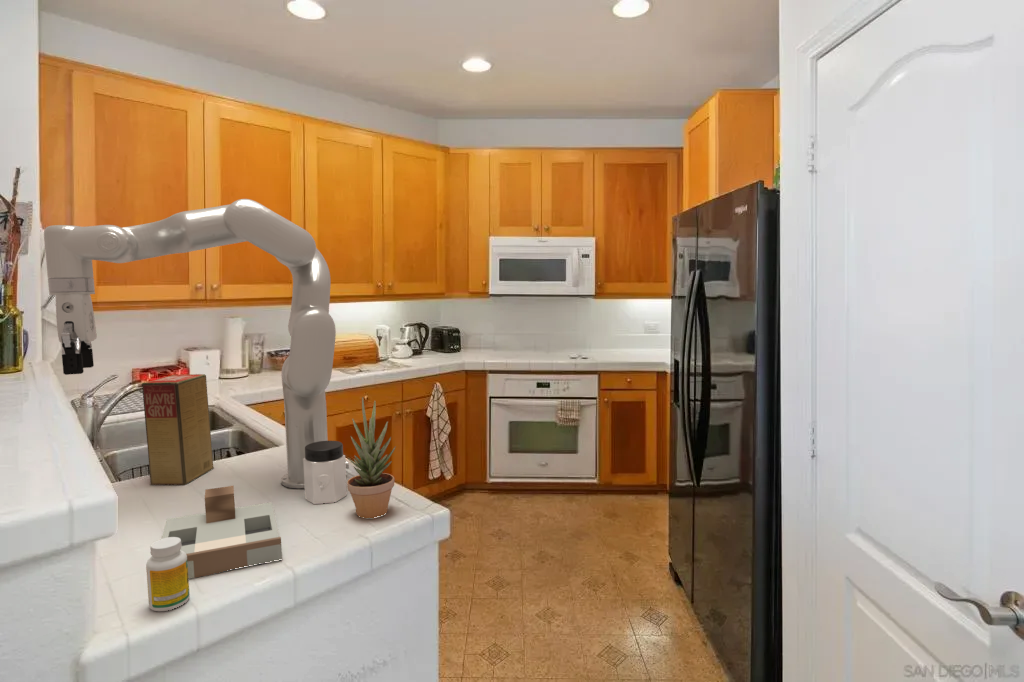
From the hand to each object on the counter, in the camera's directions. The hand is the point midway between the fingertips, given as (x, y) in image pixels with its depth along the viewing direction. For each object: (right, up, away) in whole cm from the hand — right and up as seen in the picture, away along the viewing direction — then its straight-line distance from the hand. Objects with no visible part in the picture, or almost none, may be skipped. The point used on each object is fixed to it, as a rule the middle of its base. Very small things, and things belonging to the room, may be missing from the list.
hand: (79, 370), depth 123 cm
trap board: (+36, -32, -13) cm, 50 cm away
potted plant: (+60, -30, +1) cm, 67 cm away
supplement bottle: (+37, -34, -33) cm, 60 cm away
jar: (+47, -29, +11) cm, 57 cm away
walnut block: (+33, -28, -7) cm, 43 cm away
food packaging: (+7, -28, +27) cm, 39 cm away
